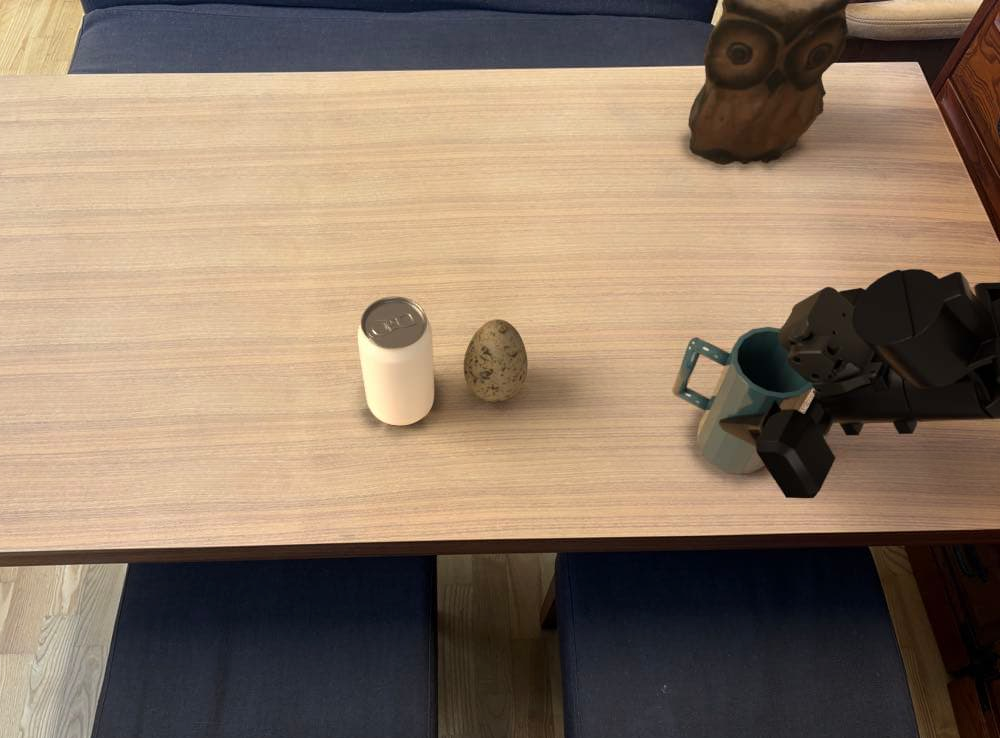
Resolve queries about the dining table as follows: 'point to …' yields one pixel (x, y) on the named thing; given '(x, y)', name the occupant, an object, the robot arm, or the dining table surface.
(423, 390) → the can
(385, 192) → the dining table surface
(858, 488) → the dining table surface
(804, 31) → the owl
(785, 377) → the teal mug
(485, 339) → the decorative egg
